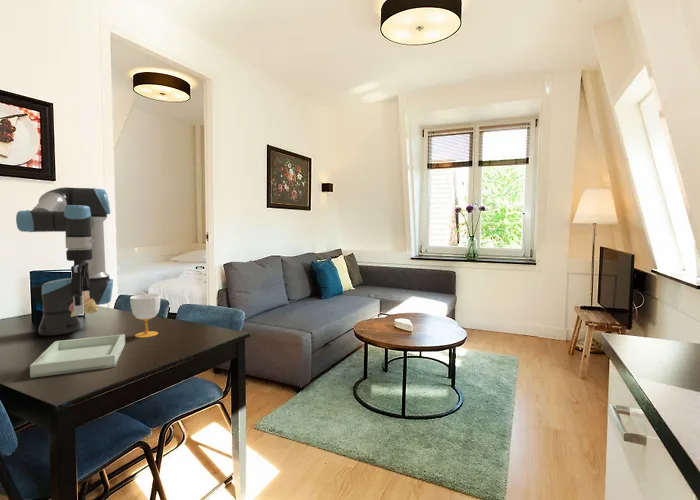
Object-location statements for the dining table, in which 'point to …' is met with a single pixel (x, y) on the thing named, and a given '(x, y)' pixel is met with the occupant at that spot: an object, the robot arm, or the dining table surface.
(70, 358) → the tray
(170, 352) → the dining table surface
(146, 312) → the cup
